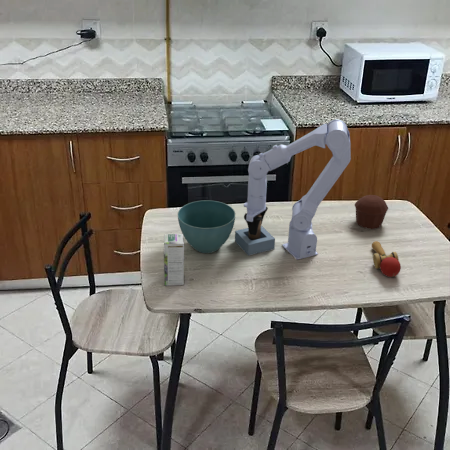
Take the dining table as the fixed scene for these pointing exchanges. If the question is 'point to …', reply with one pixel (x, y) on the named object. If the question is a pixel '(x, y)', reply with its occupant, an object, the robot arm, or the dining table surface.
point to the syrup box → (173, 259)
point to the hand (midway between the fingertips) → (255, 230)
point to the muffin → (370, 211)
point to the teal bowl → (206, 224)
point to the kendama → (385, 261)
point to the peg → (257, 236)
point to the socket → (254, 241)
